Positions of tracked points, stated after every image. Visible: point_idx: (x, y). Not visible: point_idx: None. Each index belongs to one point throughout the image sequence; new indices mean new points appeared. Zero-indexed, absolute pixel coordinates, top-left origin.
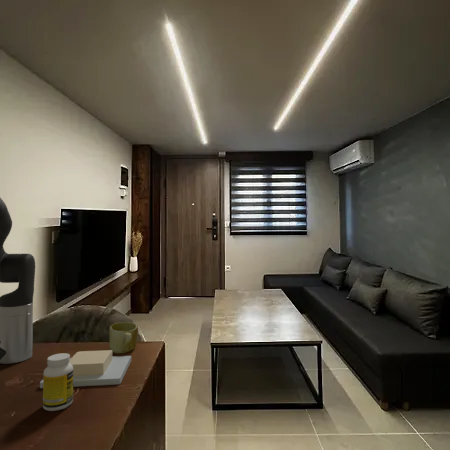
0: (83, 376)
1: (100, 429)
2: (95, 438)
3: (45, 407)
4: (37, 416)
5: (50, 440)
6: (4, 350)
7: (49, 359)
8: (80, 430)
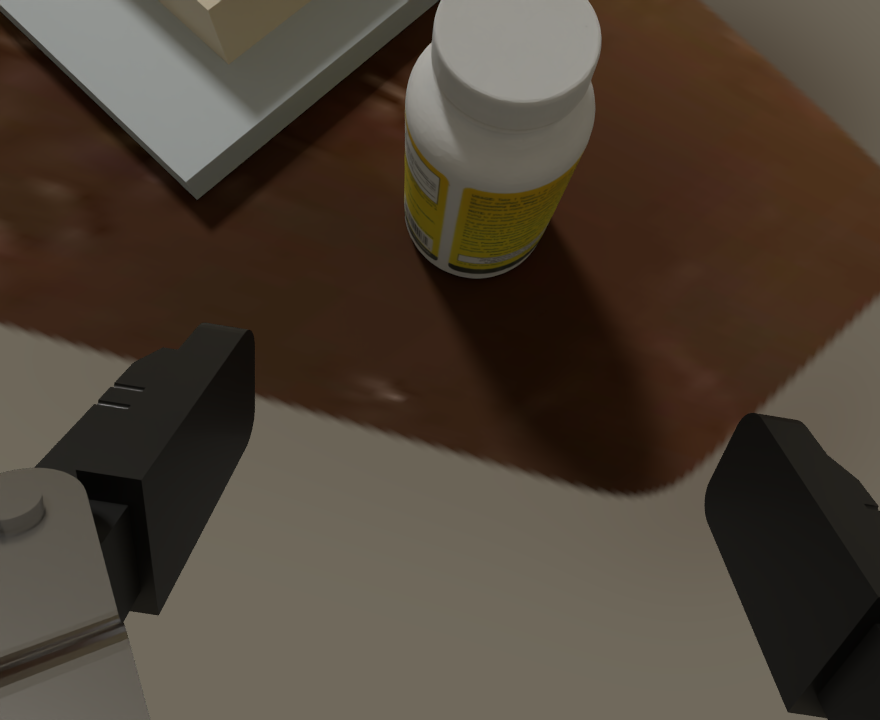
0: (324, 8)
1: (820, 198)
2: (868, 241)
3: (492, 274)
4: (507, 323)
5: (757, 363)
6: (808, 435)
7: (526, 96)
8: (770, 252)
